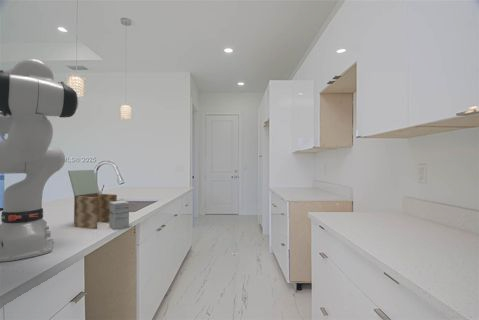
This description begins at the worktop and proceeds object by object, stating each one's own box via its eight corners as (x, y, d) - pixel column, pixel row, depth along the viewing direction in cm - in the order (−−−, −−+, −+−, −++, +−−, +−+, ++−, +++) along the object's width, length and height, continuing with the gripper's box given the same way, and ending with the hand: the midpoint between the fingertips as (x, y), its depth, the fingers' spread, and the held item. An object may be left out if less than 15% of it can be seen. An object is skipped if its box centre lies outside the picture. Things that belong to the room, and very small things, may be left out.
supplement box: (108, 226, 127) (109, 201, 127) (124, 224, 132) (124, 200, 132) (113, 229, 121) (113, 203, 122) (129, 227, 126) (129, 201, 127)
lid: (93, 169, 141) (92, 170, 142) (69, 170, 128) (68, 171, 128) (99, 193, 140) (98, 193, 140) (75, 196, 126) (74, 196, 126)
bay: (116, 222, 135) (116, 177, 136) (95, 228, 123) (95, 179, 123) (89, 220, 141) (89, 177, 141) (66, 225, 128) (67, 178, 129)
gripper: (-11, 109, 102) (-13, 143, 103) (51, 117, 117) (49, 147, 118) (-12, 109, 106) (-14, 142, 107) (48, 117, 121) (46, 146, 122)
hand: (20, 145), depth 113 cm, fingers open, 8 cm apart
